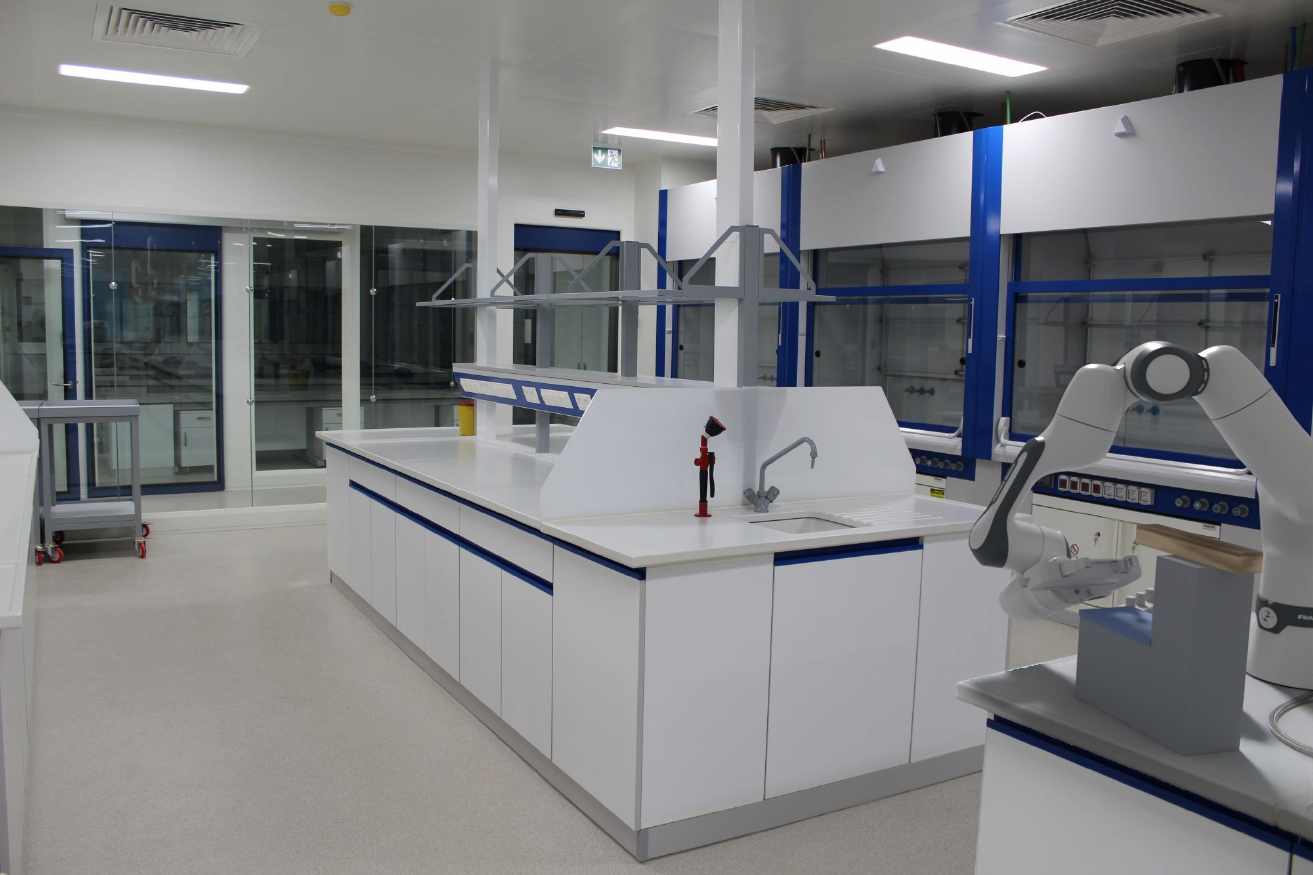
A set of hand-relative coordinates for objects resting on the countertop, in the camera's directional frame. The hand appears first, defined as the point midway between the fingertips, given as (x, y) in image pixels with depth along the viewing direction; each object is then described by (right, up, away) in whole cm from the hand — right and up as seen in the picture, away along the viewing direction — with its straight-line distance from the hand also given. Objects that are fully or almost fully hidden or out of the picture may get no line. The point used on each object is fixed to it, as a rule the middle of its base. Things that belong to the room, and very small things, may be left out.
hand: (1111, 560), depth 165 cm
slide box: (+4, +3, -17) cm, 18 cm away
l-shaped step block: (+2, -24, -9) cm, 26 cm away
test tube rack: (+17, -21, +23) cm, 36 cm away
